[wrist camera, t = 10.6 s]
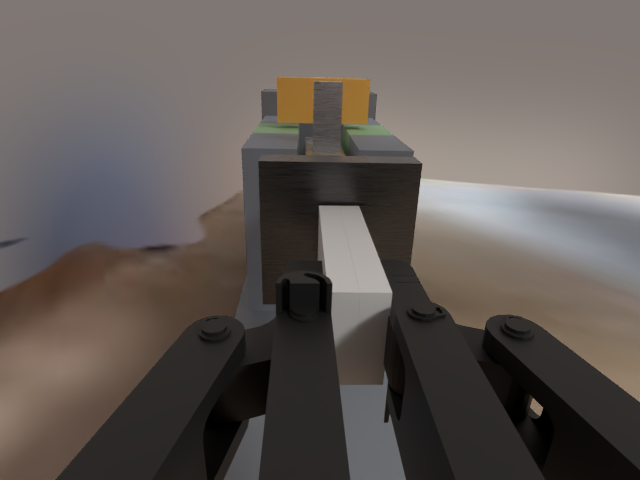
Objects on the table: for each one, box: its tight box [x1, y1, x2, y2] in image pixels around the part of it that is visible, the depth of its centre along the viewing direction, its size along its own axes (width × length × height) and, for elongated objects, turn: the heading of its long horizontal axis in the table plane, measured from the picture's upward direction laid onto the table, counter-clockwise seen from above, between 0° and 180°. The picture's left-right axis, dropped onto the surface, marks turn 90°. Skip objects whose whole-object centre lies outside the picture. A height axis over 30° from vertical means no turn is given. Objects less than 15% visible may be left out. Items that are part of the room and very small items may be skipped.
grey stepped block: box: [224, 89, 414, 480], centre depth 28 cm, size 32×11×13 cm, turn 2°
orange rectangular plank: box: [277, 77, 370, 124], centre depth 30 cm, size 2×6×3 cm, turn 92°
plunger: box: [258, 81, 422, 304], centre depth 24 cm, size 17×6×8 cm, turn 2°
